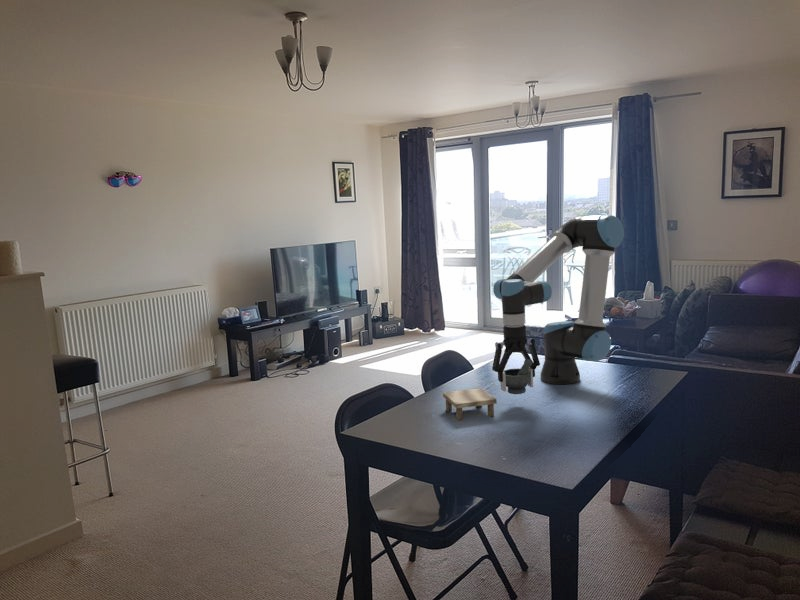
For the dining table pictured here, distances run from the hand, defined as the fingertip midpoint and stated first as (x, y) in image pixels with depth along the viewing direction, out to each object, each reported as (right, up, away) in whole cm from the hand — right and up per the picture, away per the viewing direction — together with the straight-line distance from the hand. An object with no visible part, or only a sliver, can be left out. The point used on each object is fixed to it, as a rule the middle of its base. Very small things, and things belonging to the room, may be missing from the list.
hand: (517, 388), depth 206 cm
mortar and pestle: (+1, -1, 0) cm, 2 cm away
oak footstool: (-17, -8, -5) cm, 19 cm away
